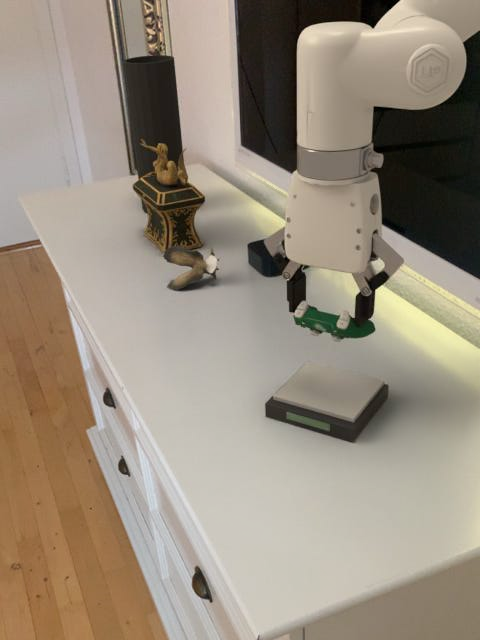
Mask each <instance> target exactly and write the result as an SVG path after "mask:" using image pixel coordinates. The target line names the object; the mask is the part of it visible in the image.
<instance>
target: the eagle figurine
mask: <svg viewBox="0 0 480 640" xmlns="http://www.w3.org/2000/svg"><path fill="white" fill-rule="evenodd" d="M162 257H163V260H166V263H169V264H173V265H177V266H180V267H190V268H191V269H190V270H188V271H185V272H184V273H181V274H180V275H178V276H177V277H176V278H175V279H172V280H170V281H169V282H168V283H167V285H166V287H167V289H172V290H173V291H174V290H176V291H177V290H181V289H183V288H185V287H187V286H189V285H190V284H192V283H194V282H195V283H196V282H197V283H198V282H199V281H201V280H202V279H203V278H204V275H205V274H206V275H210V276H212V278H213V280H217V274H216V272H217V271H220V268H218V263H219V261H220V258H217V257H216V255H215V253H214V248H213V247H211V248H210V255H209V256H208V257H207V258H206V259H204V255H203V254H202V253H201V252H200V251H198V250H197V249H195V250H194V249H187V248H185V247H182V246H181V245H180V246H179V245H177V246H176V245H175V246H172V247H168V249H166V251H165V252H164V253H163V255H162Z"/></svg>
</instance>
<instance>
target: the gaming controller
mask: <svg viewBox="0 0 480 640" xmlns="http://www.w3.org/2000/svg"><path fill="white" fill-rule="evenodd" d="M354 318H355V317H352V315H350V312H349V311H348V310H345V309H344V310H343V311H341V313H340V314H338V315H337V314H334V313H329V312H324V311H322V310H319V309H318V308H317V307H316V306H313V305H310V304H308V302H307V300H306V301H302V302H301V303H300V304H299V306H298V307H297V309H296V310H295V312H294V313H293V320H294V322H295V323H294V324H295V325H296V326H300V327H301V328H304V329H306V328H307V329H309V331H310V335H311V336H314V337H319V336H320V335H321V334H323V333H327V334H330V336H331V340H332V341H334V342H337V343H340V342H341V340H344V339H362V338H366V337H369V336H371V335H372V334H373V333H375V332H376V331H377V330H376V326H375V323H374V321H372V320H371V319H368V320H367V321H366V322H365V323H364V324H363V326H362V327H361V328H359V327H357V326H356V325H355V322H354Z"/></svg>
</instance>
